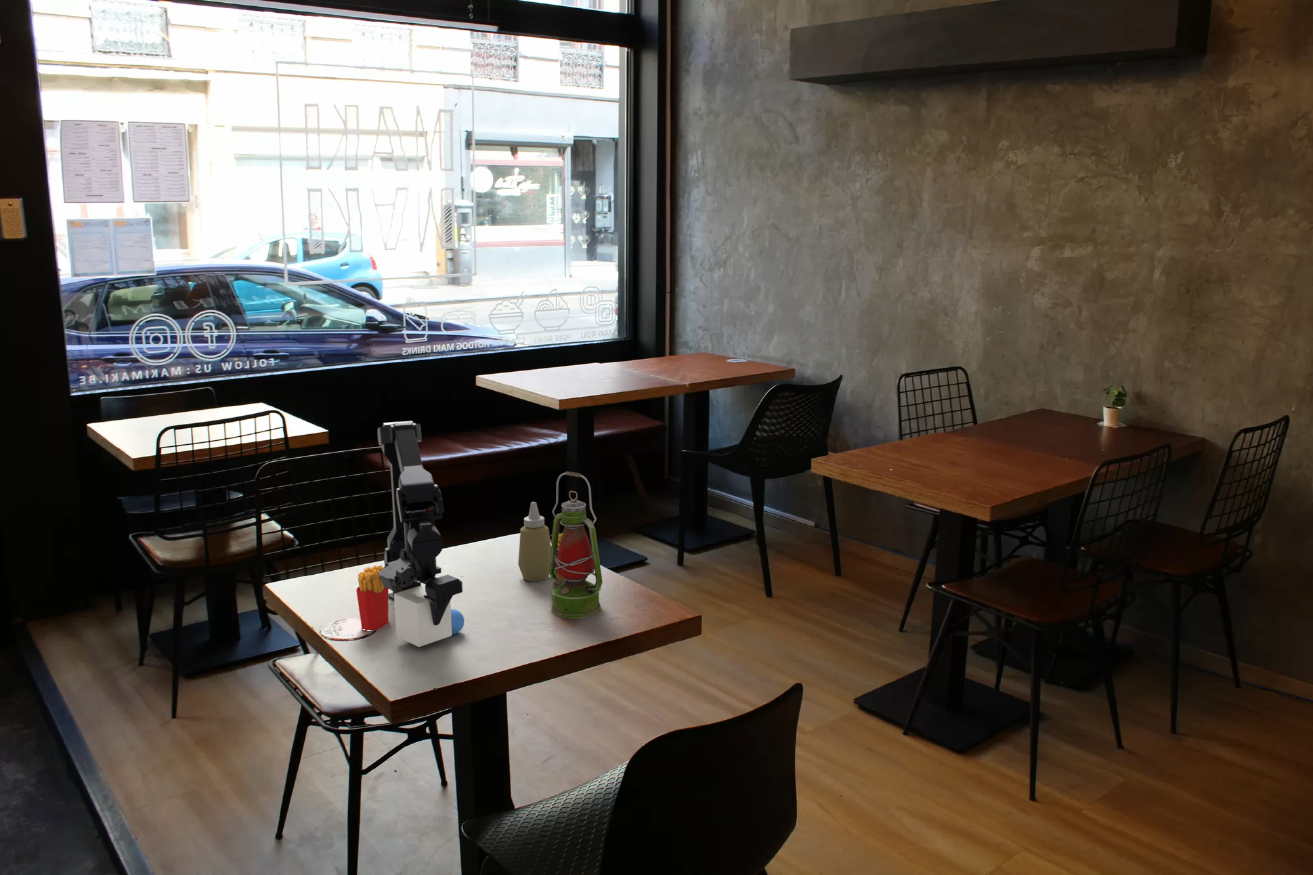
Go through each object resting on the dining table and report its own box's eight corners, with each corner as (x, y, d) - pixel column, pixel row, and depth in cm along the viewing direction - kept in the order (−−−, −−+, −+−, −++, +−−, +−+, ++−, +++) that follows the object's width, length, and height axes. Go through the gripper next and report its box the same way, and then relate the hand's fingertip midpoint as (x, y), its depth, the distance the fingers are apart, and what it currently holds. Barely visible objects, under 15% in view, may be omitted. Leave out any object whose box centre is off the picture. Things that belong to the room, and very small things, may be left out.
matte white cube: (396, 635, 208) (394, 593, 206) (429, 625, 213) (427, 583, 211) (418, 646, 203) (416, 603, 201) (451, 635, 208) (450, 593, 206)
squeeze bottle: (515, 573, 247) (512, 499, 243) (549, 570, 249) (547, 496, 245) (521, 585, 239) (519, 509, 235) (556, 581, 242) (554, 505, 238)
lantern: (534, 610, 224) (530, 473, 218) (564, 595, 233) (560, 463, 227) (588, 623, 217) (585, 482, 211) (617, 606, 226) (615, 471, 220)
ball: (434, 608, 212) (455, 604, 215) (433, 632, 213) (454, 627, 216) (449, 615, 208) (469, 610, 212) (448, 639, 209) (468, 634, 213)
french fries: (371, 633, 213) (367, 577, 210) (354, 631, 214) (350, 574, 212) (396, 618, 221) (392, 564, 218) (380, 616, 222) (376, 561, 219)
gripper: (357, 542, 205) (362, 618, 208) (412, 565, 192) (417, 645, 196) (406, 529, 212) (410, 602, 216) (462, 550, 200) (466, 627, 203)
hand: (424, 619), depth 207 cm, fingers closed on matte white cube, 8 cm apart
